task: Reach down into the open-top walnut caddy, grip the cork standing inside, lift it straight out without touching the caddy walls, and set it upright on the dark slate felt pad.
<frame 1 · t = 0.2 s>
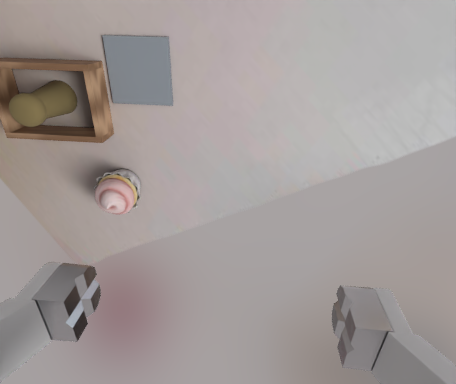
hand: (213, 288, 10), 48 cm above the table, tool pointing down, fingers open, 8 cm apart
cupcake: (127, 181, 64), on the table
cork: (61, 97, 57), resting in caddy
felt pad: (139, 71, 53), on the table
caddy: (61, 97, 57), on the table
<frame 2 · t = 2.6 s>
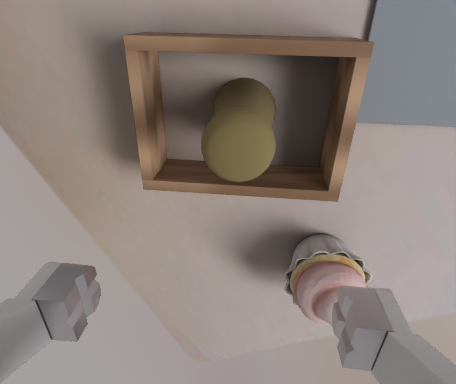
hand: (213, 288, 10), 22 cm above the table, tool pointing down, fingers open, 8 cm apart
cupcake: (319, 253, 37), on the table
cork: (244, 110, 30), resting in caddy
felt pad: (429, 60, 26), on the table
caddy: (244, 110, 30), on the table
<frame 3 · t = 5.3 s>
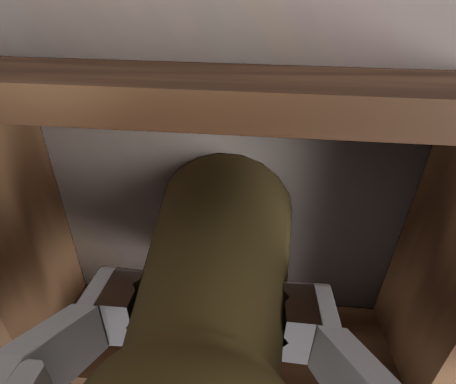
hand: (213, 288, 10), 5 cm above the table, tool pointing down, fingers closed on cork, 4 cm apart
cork: (226, 211, 14), resting in caddy, touching gripper
caddy: (226, 213, 14), on the table
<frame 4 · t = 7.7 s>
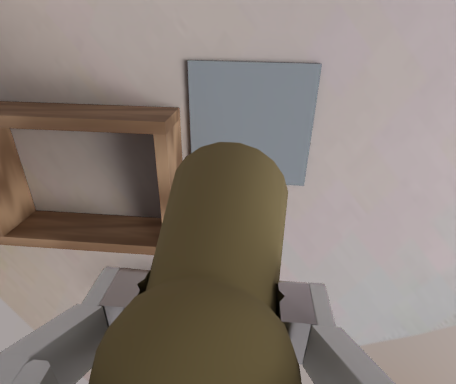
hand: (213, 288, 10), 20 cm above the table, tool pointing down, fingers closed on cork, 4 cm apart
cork: (229, 195, 16), point 14 cm above the table, touching gripper
felt pad: (250, 126, 28), on the table
caddy: (96, 168, 31), on the table
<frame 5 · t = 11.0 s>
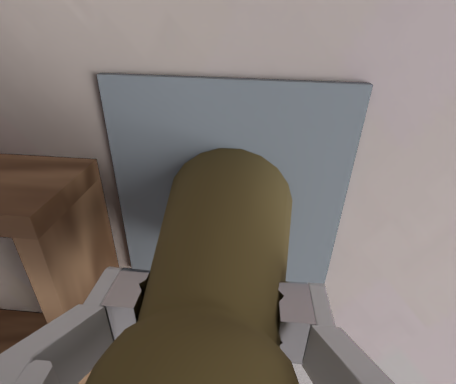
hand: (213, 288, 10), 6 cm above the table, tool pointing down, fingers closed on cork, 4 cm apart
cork: (230, 203, 15), resting on felt pad, touching gripper
felt pad: (228, 194, 15), on the table
when the fingers open (6 cm above the table, at t = 11.9 s): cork stays where it is, resting on felt pad.
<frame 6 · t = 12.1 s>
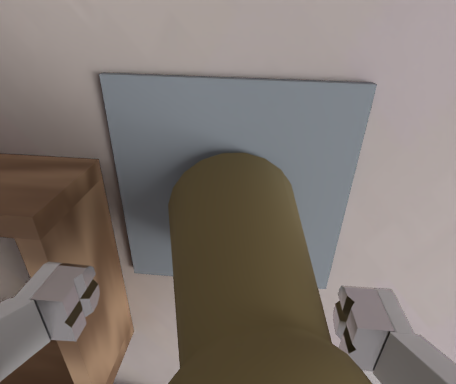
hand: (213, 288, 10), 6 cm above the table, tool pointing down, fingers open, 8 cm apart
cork: (232, 208, 15), point 1 cm above the table, touching felt pad, gripper
felt pad: (231, 194, 15), on the table
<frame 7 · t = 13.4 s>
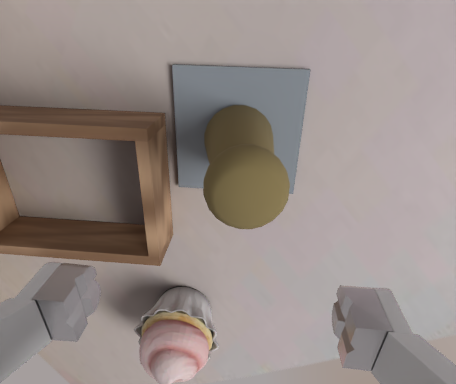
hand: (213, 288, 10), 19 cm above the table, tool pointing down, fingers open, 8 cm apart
cupcake: (186, 303, 38), on the table
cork: (238, 139, 27), point 1 cm above the table, touching felt pad
felt pad: (237, 133, 27), on the table
caddy: (80, 174, 31), on the table
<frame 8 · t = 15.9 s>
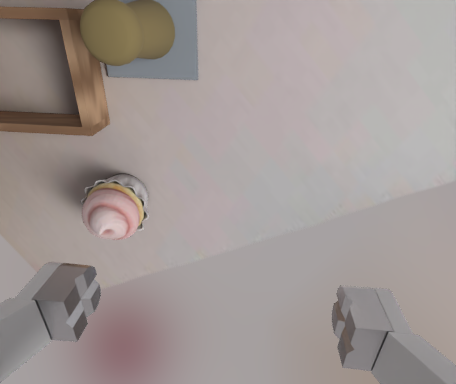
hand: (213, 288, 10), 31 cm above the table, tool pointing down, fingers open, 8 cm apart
cupcake: (128, 192, 46), on the table
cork: (149, 30, 35), resting on felt pad
felt pad: (148, 26, 35), on the table
caddy: (31, 68, 38), on the table
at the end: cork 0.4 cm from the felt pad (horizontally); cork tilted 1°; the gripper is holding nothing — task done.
